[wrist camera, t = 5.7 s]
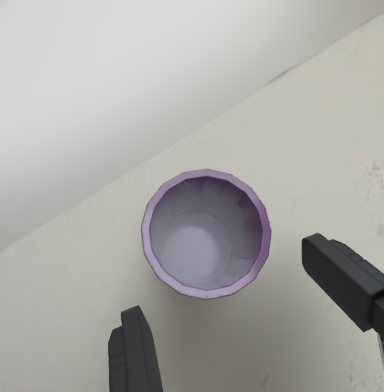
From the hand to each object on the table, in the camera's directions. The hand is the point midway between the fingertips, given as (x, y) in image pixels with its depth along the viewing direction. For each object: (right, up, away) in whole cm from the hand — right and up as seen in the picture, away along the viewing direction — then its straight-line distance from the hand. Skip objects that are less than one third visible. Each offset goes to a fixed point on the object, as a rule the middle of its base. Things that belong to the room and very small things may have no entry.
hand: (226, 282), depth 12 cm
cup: (-1, 0, +8) cm, 8 cm away
